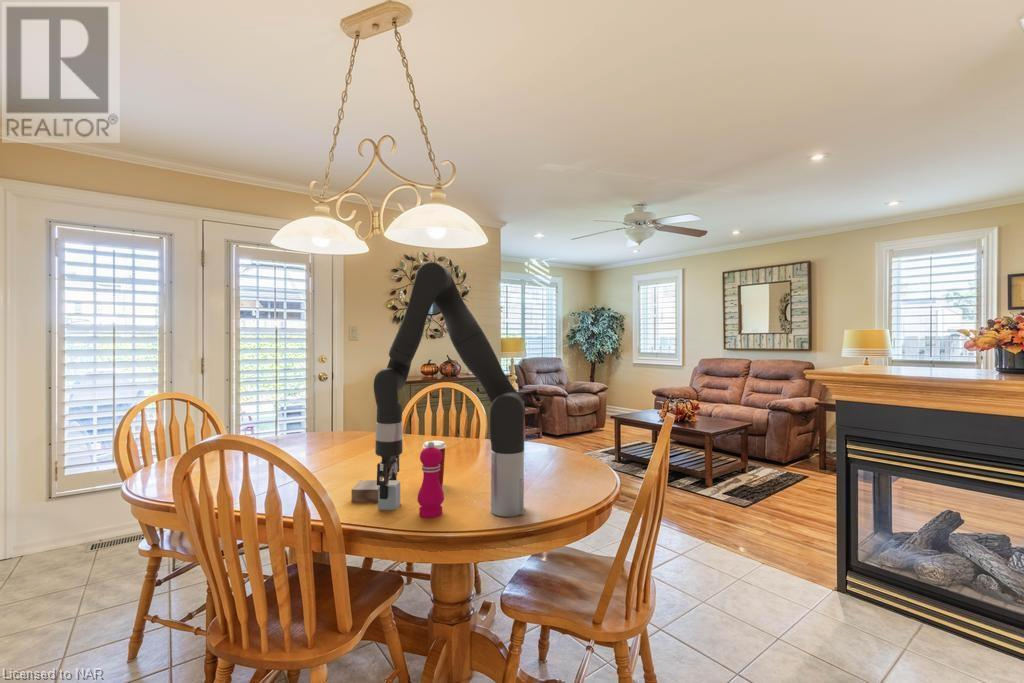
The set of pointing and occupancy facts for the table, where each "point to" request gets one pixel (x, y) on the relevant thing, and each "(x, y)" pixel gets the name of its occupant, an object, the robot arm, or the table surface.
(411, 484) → the table surface
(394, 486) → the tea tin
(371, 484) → the walnut block
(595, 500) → the table surface
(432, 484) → the pepper mill
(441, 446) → the paper cup
